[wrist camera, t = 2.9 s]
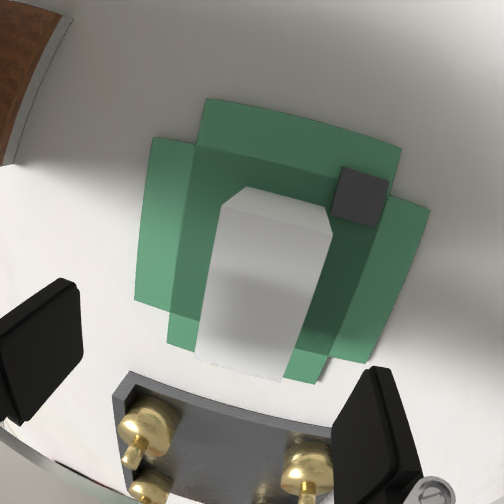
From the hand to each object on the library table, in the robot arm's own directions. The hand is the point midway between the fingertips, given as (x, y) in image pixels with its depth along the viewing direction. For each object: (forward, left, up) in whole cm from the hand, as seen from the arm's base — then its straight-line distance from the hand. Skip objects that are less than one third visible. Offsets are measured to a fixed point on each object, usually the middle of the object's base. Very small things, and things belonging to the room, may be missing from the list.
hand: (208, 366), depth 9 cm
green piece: (-1, -1, -10) cm, 10 cm away
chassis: (-2, +20, -9) cm, 22 cm away
